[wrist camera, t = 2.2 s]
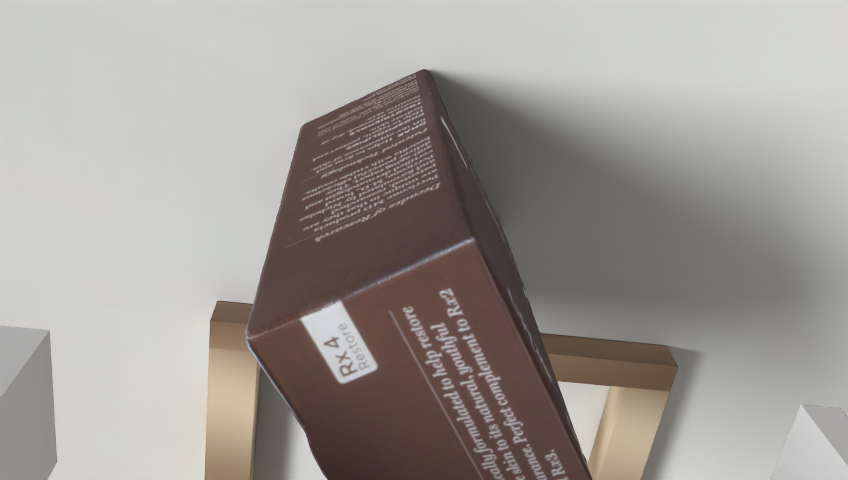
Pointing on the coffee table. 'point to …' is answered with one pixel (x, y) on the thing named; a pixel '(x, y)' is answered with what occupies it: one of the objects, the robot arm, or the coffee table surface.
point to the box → (404, 307)
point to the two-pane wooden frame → (569, 356)
